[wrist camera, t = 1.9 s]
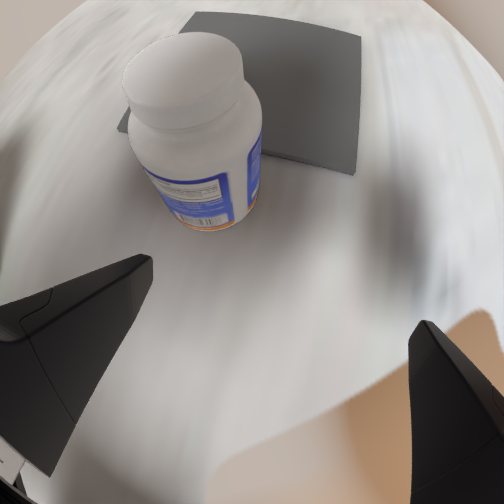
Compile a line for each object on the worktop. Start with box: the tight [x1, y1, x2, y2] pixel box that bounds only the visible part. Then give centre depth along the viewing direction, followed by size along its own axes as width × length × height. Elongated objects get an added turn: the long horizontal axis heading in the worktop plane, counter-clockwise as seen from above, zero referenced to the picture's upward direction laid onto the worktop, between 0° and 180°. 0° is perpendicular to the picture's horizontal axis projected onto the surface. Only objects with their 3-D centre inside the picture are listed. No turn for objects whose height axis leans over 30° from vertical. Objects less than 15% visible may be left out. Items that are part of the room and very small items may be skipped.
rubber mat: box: [117, 12, 361, 175], centre depth 20 cm, size 16×16×1 cm
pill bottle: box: [122, 32, 262, 231], centre depth 13 cm, size 5×5×10 cm
